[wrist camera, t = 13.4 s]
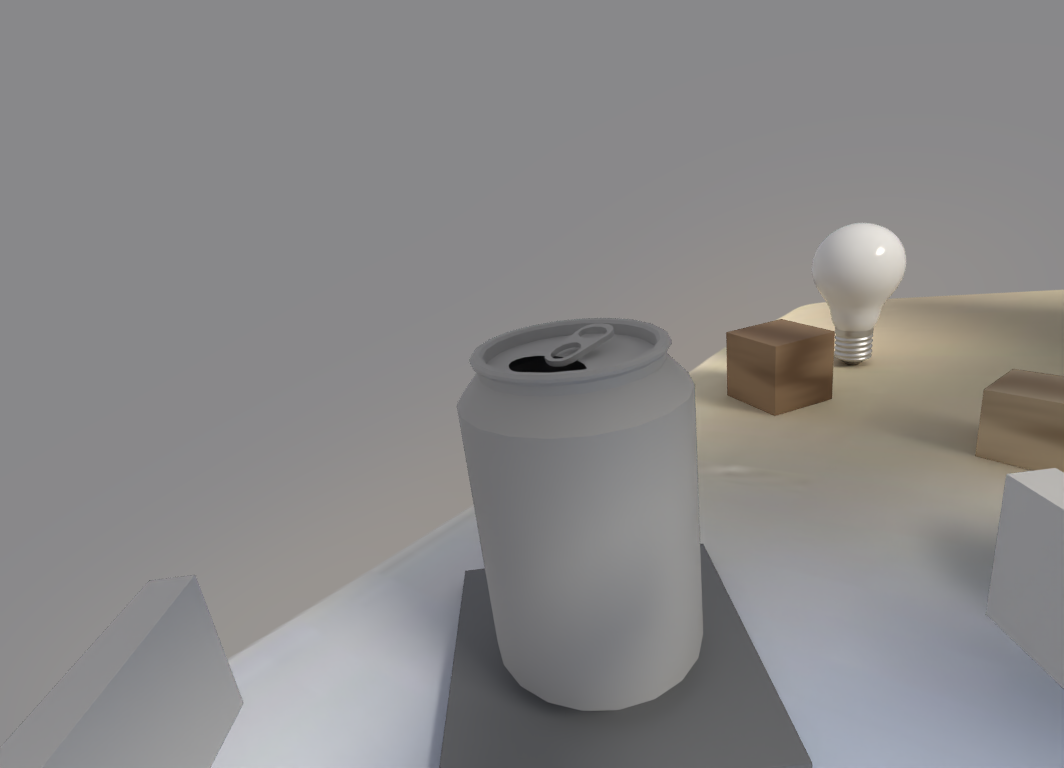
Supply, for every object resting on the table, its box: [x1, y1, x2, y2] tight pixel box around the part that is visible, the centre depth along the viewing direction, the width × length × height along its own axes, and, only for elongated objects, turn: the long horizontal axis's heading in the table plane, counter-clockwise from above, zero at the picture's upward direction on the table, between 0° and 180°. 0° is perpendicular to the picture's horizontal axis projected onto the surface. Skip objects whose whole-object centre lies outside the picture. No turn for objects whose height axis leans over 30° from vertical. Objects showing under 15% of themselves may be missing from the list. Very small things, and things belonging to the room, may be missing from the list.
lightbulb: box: [812, 223, 906, 364], centre depth 47 cm, size 6×6×11 cm
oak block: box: [975, 369, 1064, 472], centre depth 32 cm, size 4×4×4 cm
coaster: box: [439, 544, 812, 768], centre depth 23 cm, size 11×11×1 cm
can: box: [457, 318, 703, 711], centre depth 21 cm, size 8×8×12 cm
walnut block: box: [726, 319, 835, 416], centre depth 44 cm, size 5×5×5 cm
